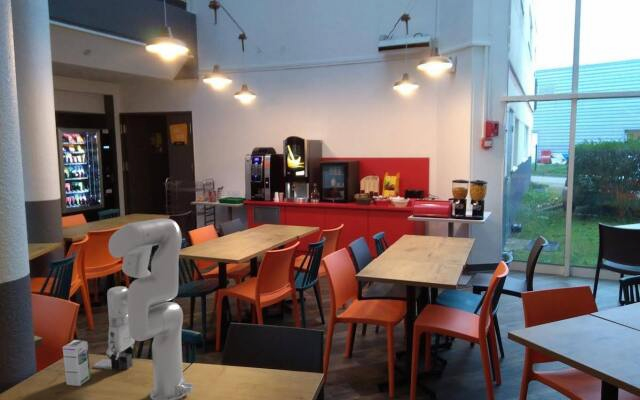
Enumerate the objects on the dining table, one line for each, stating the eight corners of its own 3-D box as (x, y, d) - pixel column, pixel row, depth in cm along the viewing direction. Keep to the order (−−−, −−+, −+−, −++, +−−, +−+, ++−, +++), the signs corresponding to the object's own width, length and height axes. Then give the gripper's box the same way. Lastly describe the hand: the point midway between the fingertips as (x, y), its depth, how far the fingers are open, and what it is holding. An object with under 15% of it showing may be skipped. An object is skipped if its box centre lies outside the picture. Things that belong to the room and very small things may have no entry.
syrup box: (80, 386, 164) (76, 347, 163) (65, 384, 165) (62, 346, 164) (91, 378, 170) (88, 340, 168) (77, 377, 171) (73, 339, 169)
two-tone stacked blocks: (134, 364, 180) (133, 352, 179) (125, 370, 175) (125, 358, 175) (102, 361, 183) (101, 349, 183) (93, 367, 178) (92, 355, 178)
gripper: (113, 329, 167) (116, 375, 169) (142, 312, 184) (144, 354, 186) (95, 327, 168) (98, 373, 171) (125, 310, 185) (128, 353, 187)
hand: (122, 363), depth 178 cm, fingers open, 7 cm apart
